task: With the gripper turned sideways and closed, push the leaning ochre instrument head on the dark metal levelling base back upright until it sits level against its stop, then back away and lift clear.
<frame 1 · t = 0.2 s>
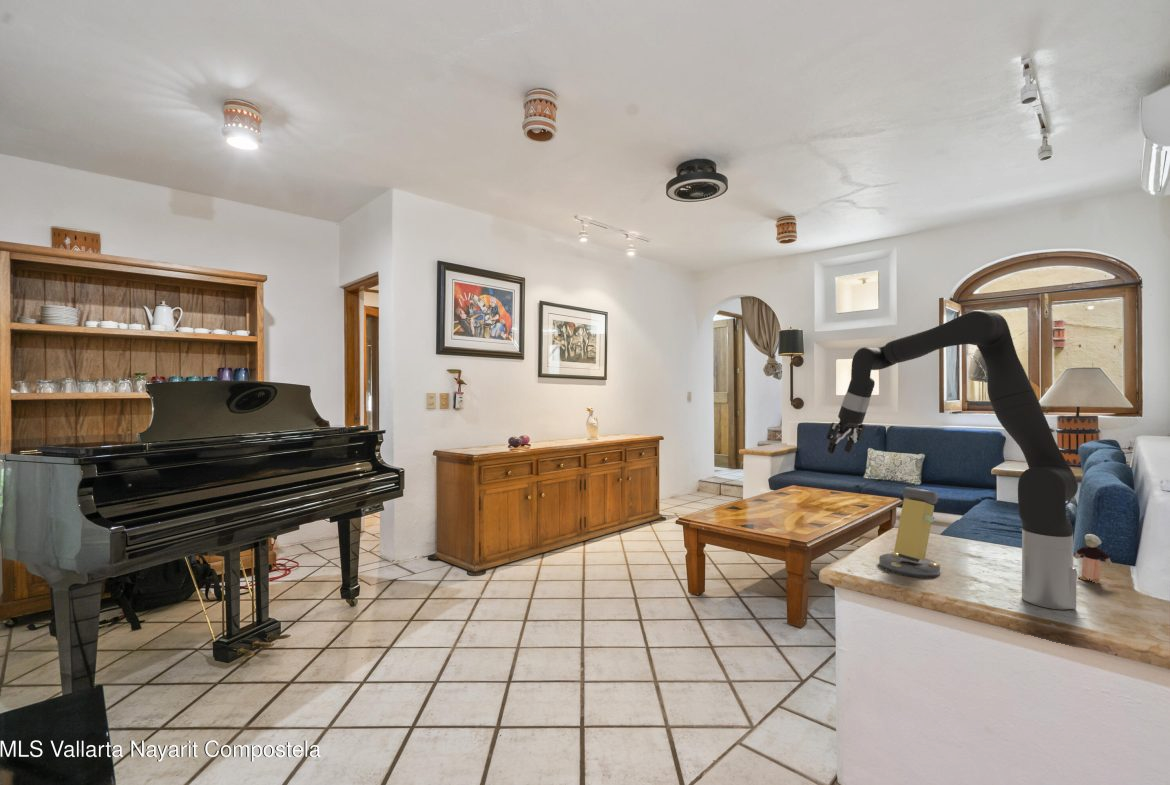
hand: (839, 452, 177), 31 cm above the countertop, tool tilted 20°, fingers open, 8 cm apart
instrument head: (915, 524, 154), point 12 cm above the countertop, hinge at -18.0°
photo printer: (1049, 564, 157), on the countertop
grandmother figurine: (1092, 581, 143), on the countertop
levelling base: (909, 568, 153), on the countertop
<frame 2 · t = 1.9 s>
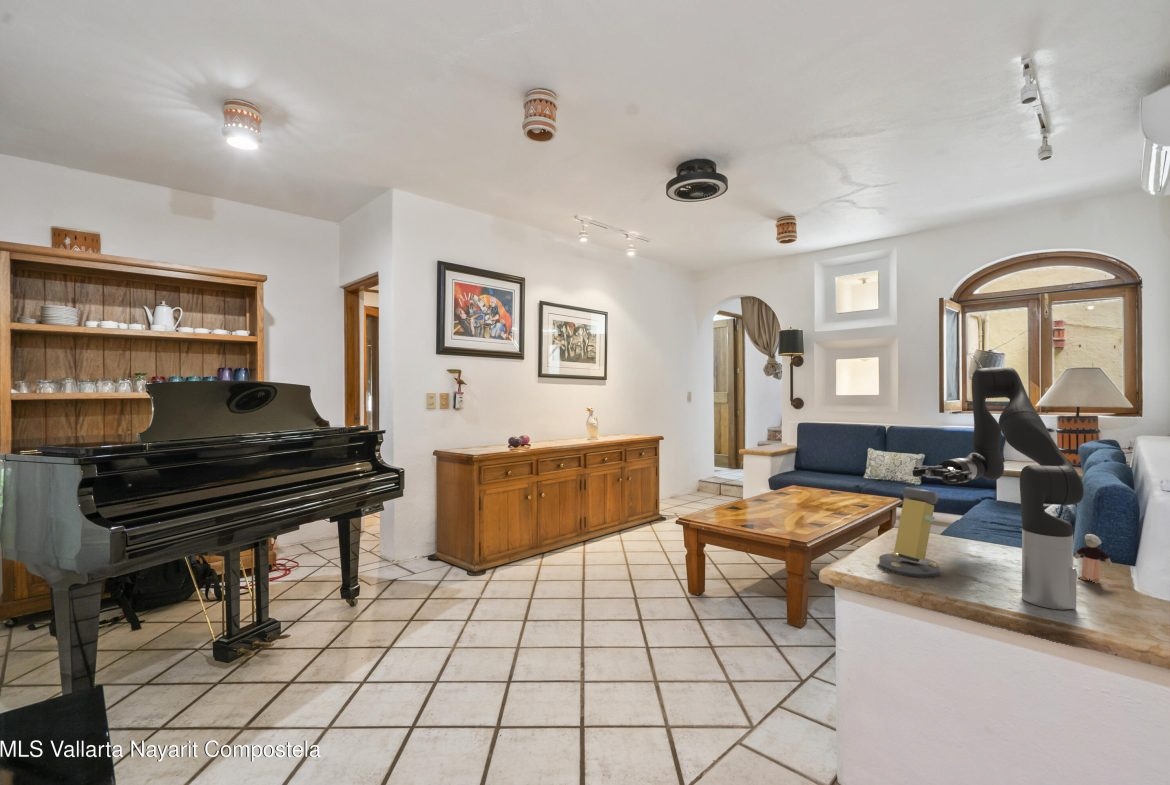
hand: (929, 475, 158), 26 cm above the countertop, tool horizontal, fingers open, 8 cm apart
nothing on the countertop moved.
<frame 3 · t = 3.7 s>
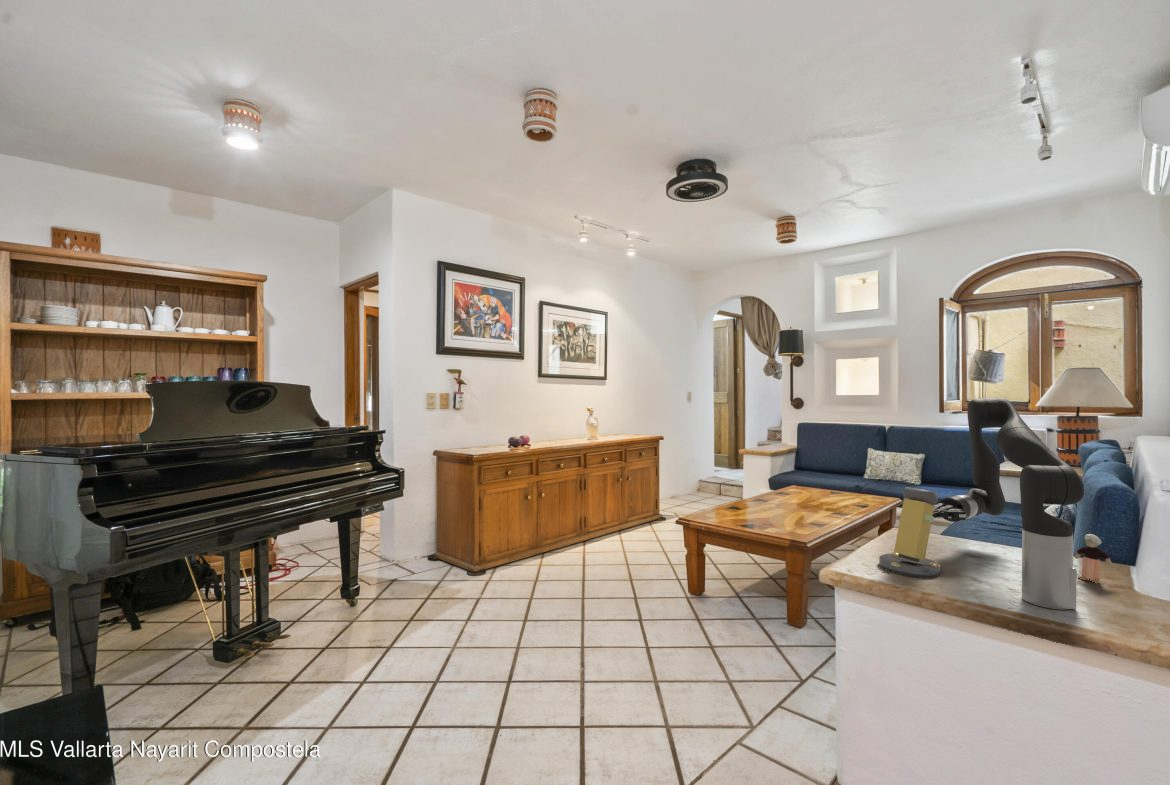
hand: (927, 515, 158), 14 cm above the countertop, tool horizontal, fingers closed
nothing on the countertop moved.
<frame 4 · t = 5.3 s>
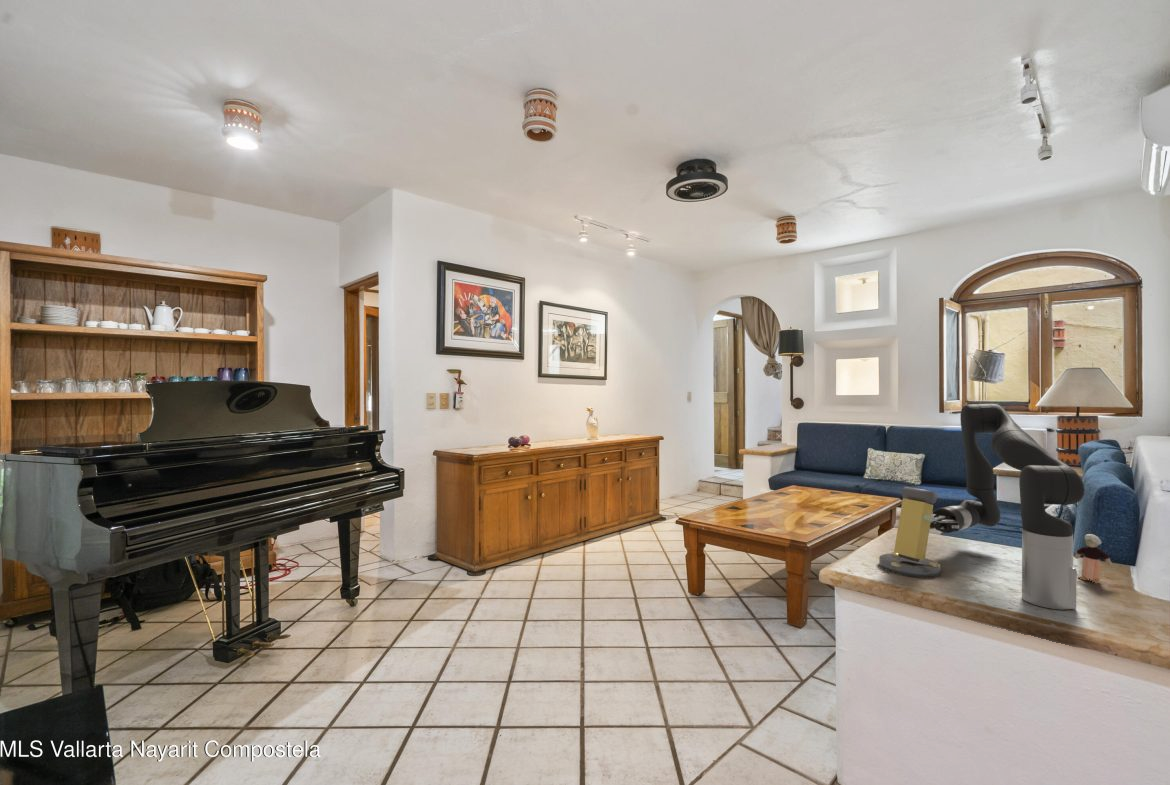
hand: (919, 525, 155), 12 cm above the countertop, tool horizontal, fingers closed
instrument head: (914, 523, 154), point 13 cm above the countertop, hinge at -15.9°, touching gripper
everything else where it was.
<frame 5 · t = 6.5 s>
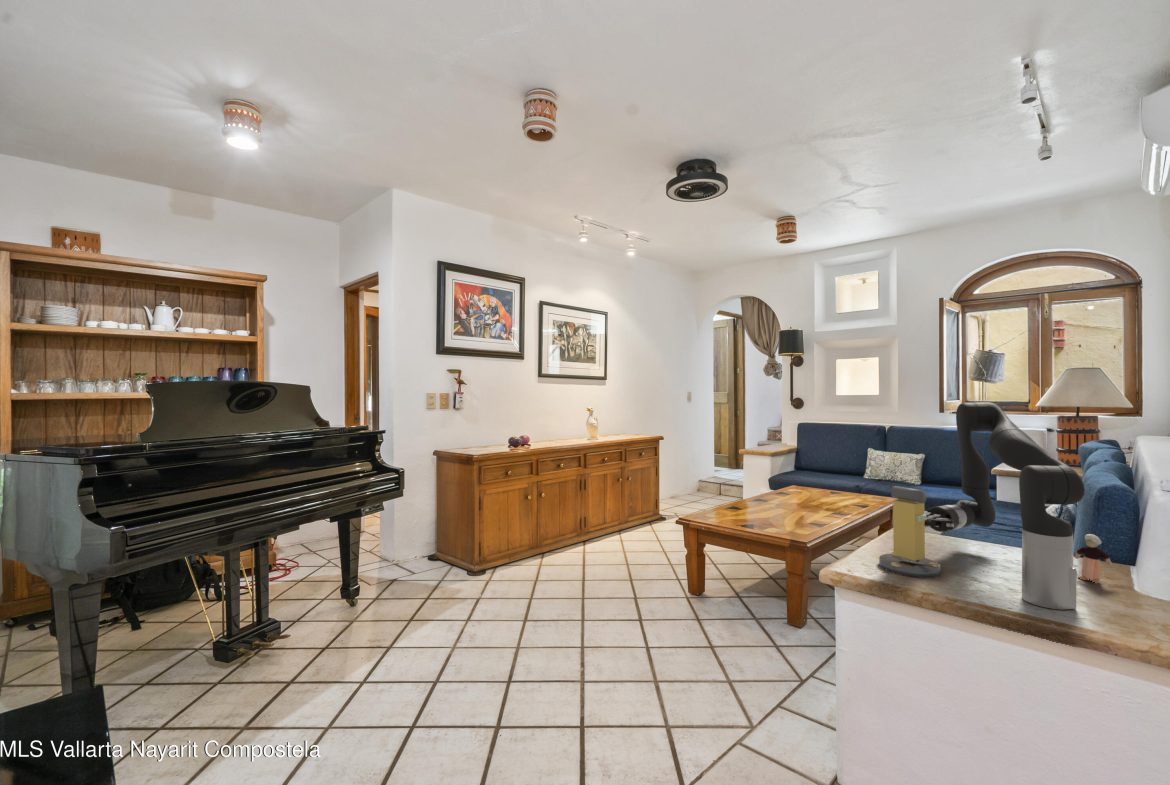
hand: (913, 523, 154), 13 cm above the countertop, tool horizontal, fingers closed
instrument head: (908, 523, 153), point 13 cm above the countertop, hinge at 1.2°, touching gripper
everything else where it was.
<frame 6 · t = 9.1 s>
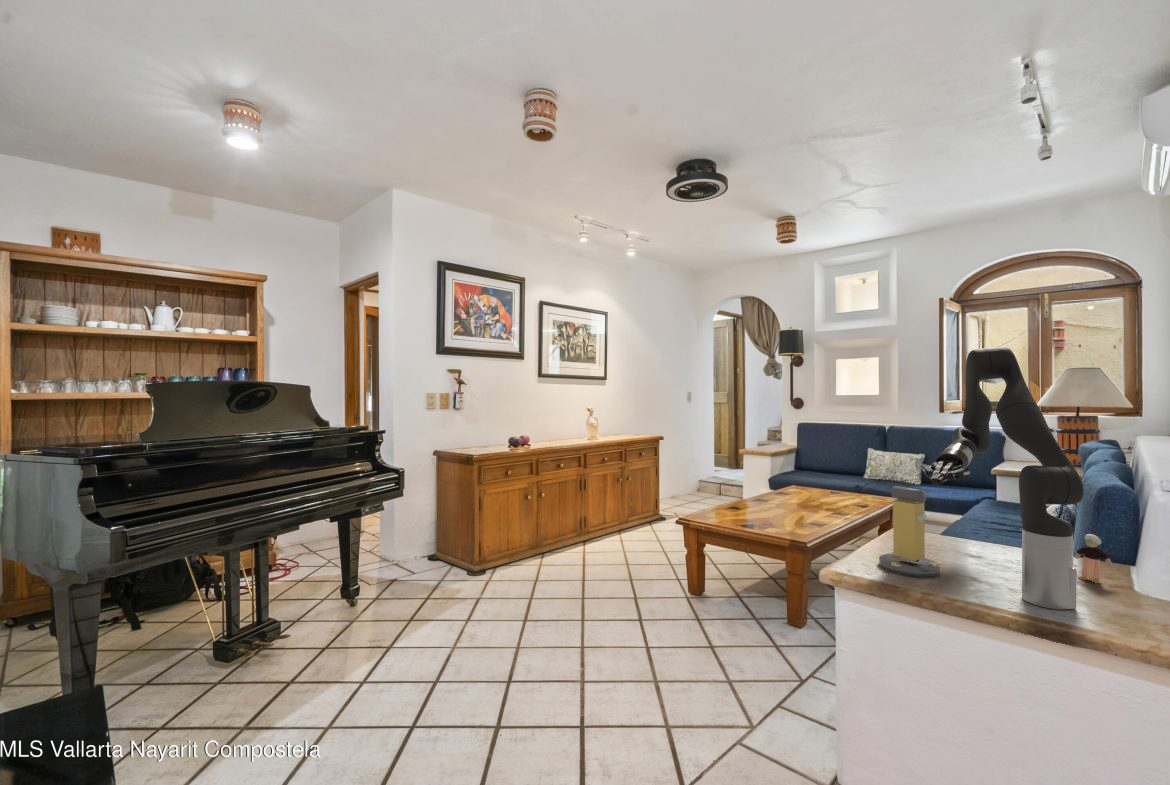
hand: (935, 482, 154), 25 cm above the countertop, tool tilted 70°, fingers closed
instrument head: (908, 523, 153), point 13 cm above the countertop, hinge at 1.2°
everything else where it was.
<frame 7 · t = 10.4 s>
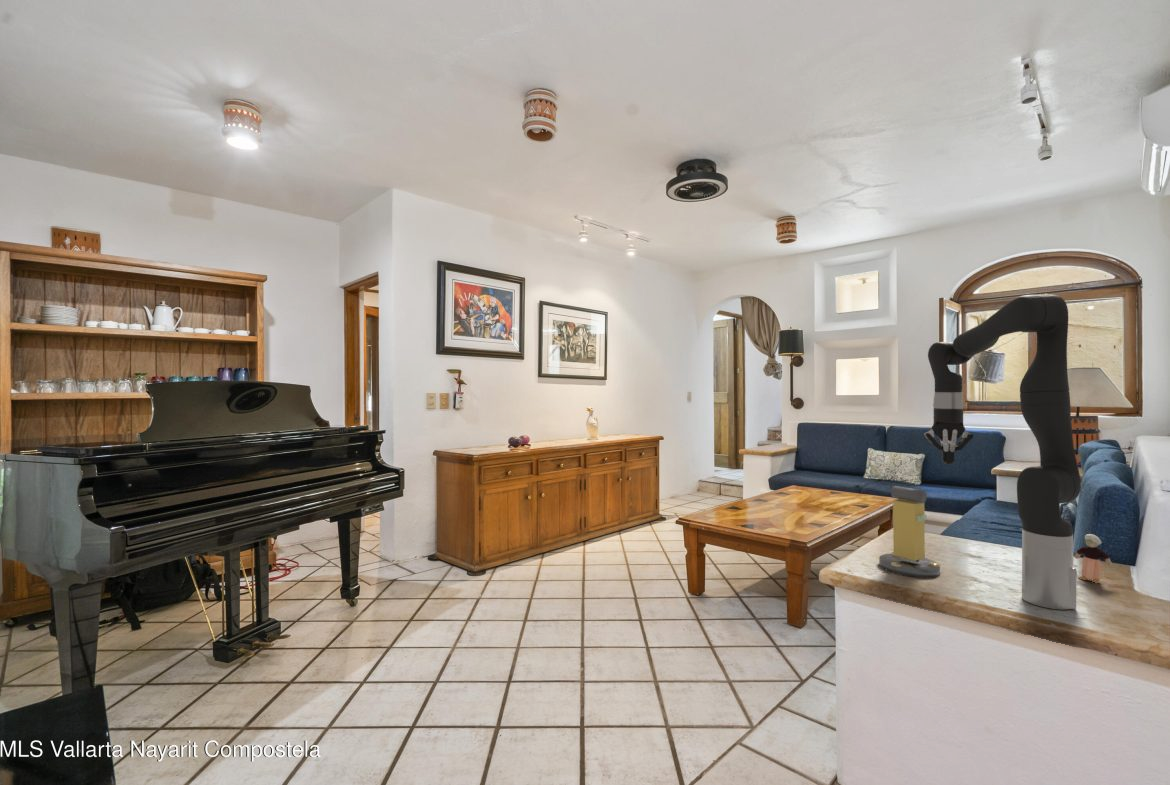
hand: (948, 463, 162), 29 cm above the countertop, tool pointing down, fingers closed
nothing on the countertop moved.
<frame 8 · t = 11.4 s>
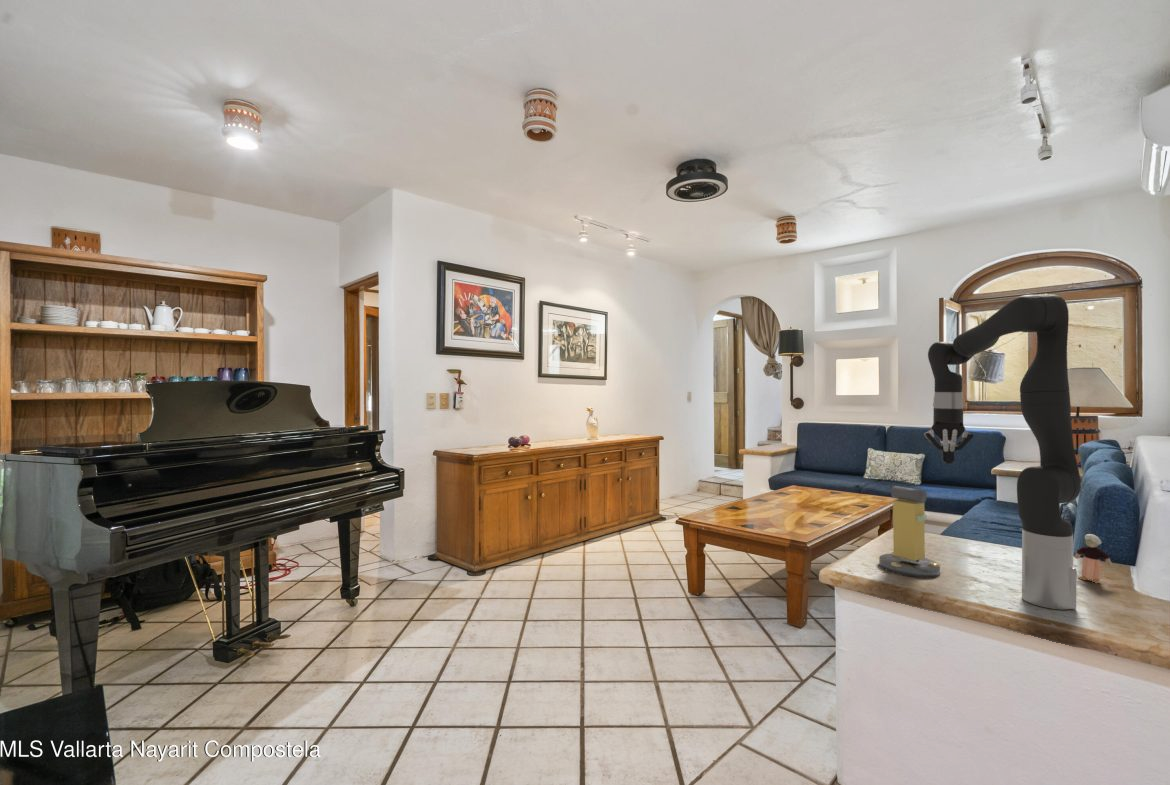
hand: (947, 463, 162), 29 cm above the countertop, tool pointing down, fingers closed
nothing on the countertop moved.
at the end: instrument head at +1° (first picture: -18°) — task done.
